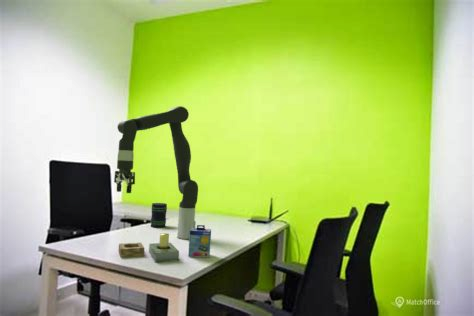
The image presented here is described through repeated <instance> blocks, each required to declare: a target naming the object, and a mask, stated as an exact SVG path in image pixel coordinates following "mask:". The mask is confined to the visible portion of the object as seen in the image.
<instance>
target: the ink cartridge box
mask: <svg viewBox="0 0 474 316" xmlns="http://www.w3.org/2000/svg"><path fill="white" fill-rule="evenodd" d="M196 225H197V226H196V227H195V228H191V229H190V237H189V239H188V240H189V241H188V254H187V255H188V257H189V258H205V259H206V258H208V259H209V258H210V256H211V244H212V243H211V242H212V229H211V228H206V227H205V226H206V225H204V224H201V225H200V224H196Z"/></svg>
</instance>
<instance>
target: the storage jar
mask: <svg viewBox="0 0 474 316" xmlns="http://www.w3.org/2000/svg"><path fill="white" fill-rule="evenodd" d="M167 205H168V204H167V203H163V202H154V203H153V202H152V203H151V217H150V218H151V219H150V227H151V228H153V229H154V228H155V229H162V228H166V223H167V211H168V207H167Z"/></svg>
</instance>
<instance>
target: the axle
mask: <svg viewBox="0 0 474 316" xmlns="http://www.w3.org/2000/svg"><path fill="white" fill-rule="evenodd" d="M169 241H170V233H167V232H163V233H160V234H159V242H158V243H159V249H168V243H170V242H169Z"/></svg>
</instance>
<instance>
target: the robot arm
mask: <svg viewBox="0 0 474 316" xmlns="http://www.w3.org/2000/svg"><path fill="white" fill-rule="evenodd" d="M188 119H189V111H188V109H187V108H186V107H184V106H175V107H171V108H170V109H169V110H167V111H165V112H158V113H153V114H148V115H142V116H139V117H136V118H130V119H124V120H121V121H120V122H118V124H117V131H118V132H119V133H121V134H122V135H121V136H122V137H121V139H119V141H118V151H117V164H116V169H117V170H115V172H114V180H113V182H114V184H116V192H117V193H120V192H122V183H123V182H125V183H126V191H125V193H126V194H131V193H132V190H133V189H132V186H133V185H135V184H136V172H135V171H132V170H133V169H134V145H135V143H134V142H135V140H136V136H137V132H139V131H145V130H150V129H154V128H157V127H160V126H164V125H166V124H168V125H169V129H170V132H171V133H170V134H171V138H172V145H173V146H172V147H173V151H174V152H173V153H174V159H175V165H176V170H177V187H178V191H179V193H180V194H181V195H182V199H181V201H180V202H179V205H178V206H179V208H178V219H177V220H178V224H177V238H178V239H181V240H189V237H190V229H191V228H196V225H197V224H196V221H195V217H196V205H197V202H198V196H199V195H198V194H199V185H198V183H197V182H196V180H193V179H191V175H190V174H191V173H190V167H191V166H190V165H191V161H192V151H191V145H190V142H189V141H188V138H187V137H186V136H185V134H184V131H183V127H182V123H185V122H186V121H187V120H188Z"/></svg>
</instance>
